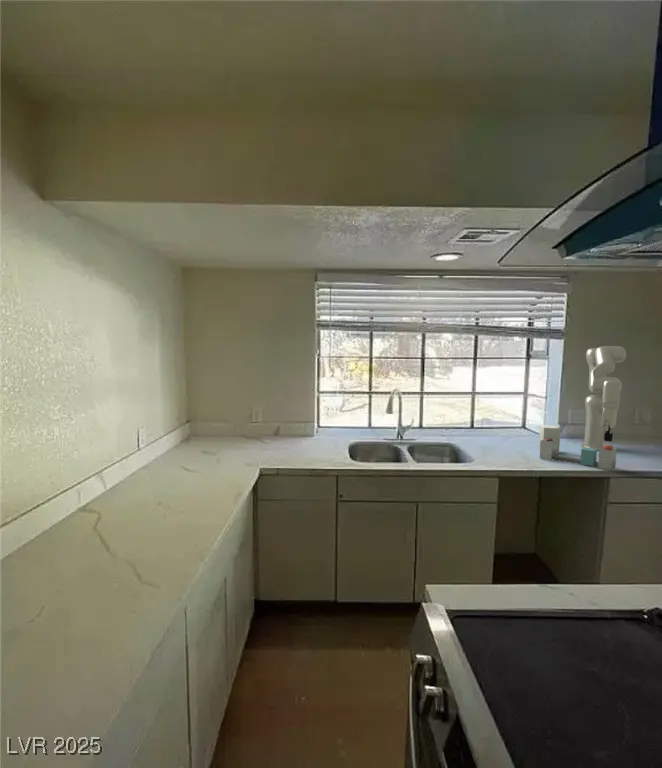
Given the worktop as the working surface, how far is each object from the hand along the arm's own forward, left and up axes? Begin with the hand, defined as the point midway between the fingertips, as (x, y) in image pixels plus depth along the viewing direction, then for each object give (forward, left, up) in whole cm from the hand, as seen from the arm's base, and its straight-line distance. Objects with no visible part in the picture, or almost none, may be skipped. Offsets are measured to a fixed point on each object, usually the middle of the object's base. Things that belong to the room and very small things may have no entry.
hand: (608, 440), depth 236 cm
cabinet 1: (+1, -28, -14) cm, 31 cm away
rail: (+1, -14, -14) cm, 20 cm away
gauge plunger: (+1, 0, -7) cm, 7 cm away
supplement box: (-13, -32, -14) cm, 38 cm away
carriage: (+1, -8, -14) cm, 16 cm away
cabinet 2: (+1, 0, -14) cm, 14 cm away
